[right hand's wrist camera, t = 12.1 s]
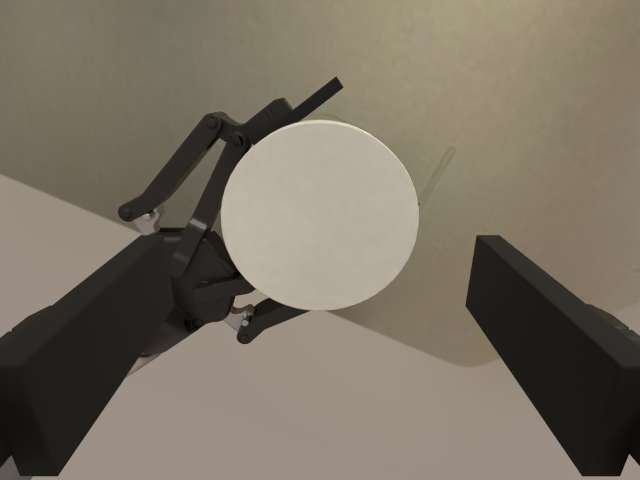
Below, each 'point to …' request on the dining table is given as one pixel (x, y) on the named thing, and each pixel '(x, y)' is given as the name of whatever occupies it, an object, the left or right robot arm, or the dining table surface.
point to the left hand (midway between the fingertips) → (377, 141)
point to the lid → (319, 215)
